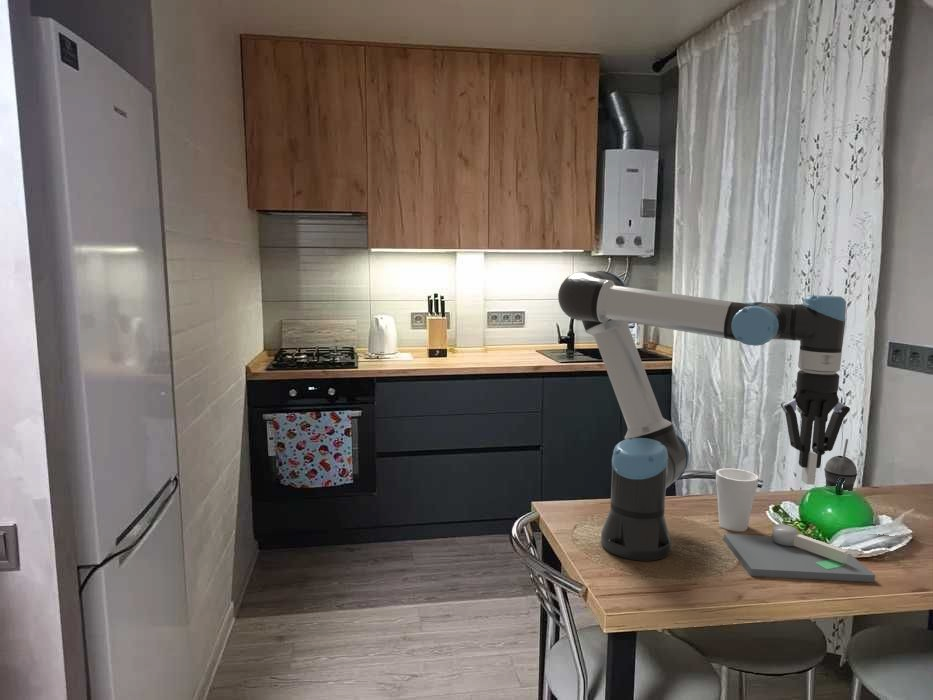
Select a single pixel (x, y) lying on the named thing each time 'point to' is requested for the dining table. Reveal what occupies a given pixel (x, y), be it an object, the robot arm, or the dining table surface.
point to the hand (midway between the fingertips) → (807, 482)
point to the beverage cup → (841, 471)
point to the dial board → (792, 561)
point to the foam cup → (735, 497)
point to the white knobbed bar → (807, 543)
